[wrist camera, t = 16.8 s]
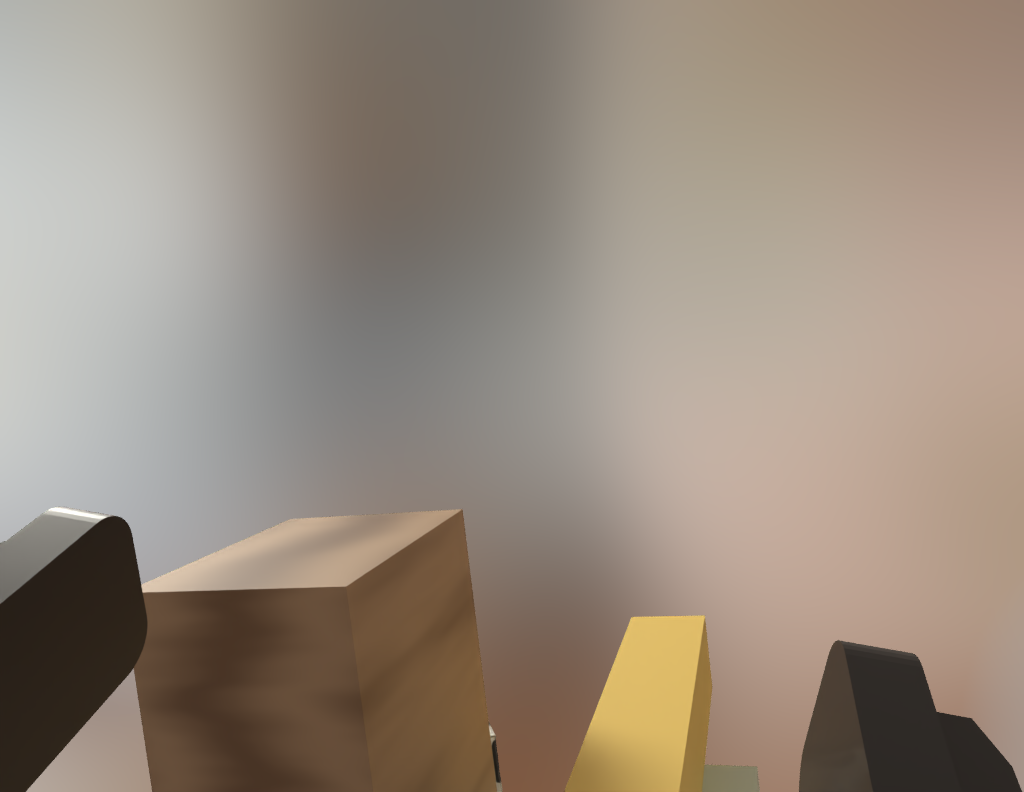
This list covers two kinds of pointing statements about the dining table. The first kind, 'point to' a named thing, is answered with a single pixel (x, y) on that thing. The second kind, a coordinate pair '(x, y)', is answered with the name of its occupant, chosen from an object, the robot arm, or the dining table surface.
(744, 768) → the pale green tall block
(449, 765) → the stand
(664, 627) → the bar
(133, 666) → the robot arm
